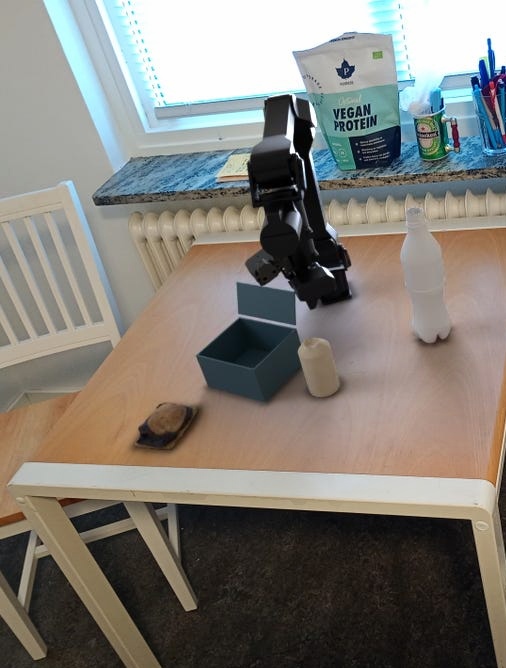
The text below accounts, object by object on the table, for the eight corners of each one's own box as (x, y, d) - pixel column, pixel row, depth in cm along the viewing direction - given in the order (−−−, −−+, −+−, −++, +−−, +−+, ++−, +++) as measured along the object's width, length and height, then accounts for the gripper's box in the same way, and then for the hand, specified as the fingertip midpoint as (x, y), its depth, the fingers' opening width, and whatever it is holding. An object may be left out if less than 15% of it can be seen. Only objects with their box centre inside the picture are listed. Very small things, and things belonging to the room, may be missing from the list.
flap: (238, 314, 137) (239, 313, 137) (294, 325, 130) (296, 324, 130) (236, 282, 135) (237, 281, 135) (293, 291, 128) (295, 291, 128)
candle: (346, 381, 127) (334, 334, 122) (328, 400, 124) (315, 353, 118) (320, 375, 130) (308, 329, 124) (303, 393, 127) (289, 347, 121)
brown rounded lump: (162, 406, 132) (155, 390, 129) (202, 409, 129) (195, 393, 126) (131, 447, 124) (122, 431, 122) (172, 451, 121) (165, 434, 119)
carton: (250, 347, 142) (239, 316, 137) (305, 360, 135) (296, 328, 130) (208, 387, 134) (195, 355, 129) (265, 402, 127) (253, 370, 122)
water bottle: (456, 324, 135) (440, 200, 120) (447, 347, 130) (430, 220, 115) (419, 323, 138) (399, 201, 123) (409, 345, 132) (387, 221, 118)
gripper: (229, 221, 121) (255, 300, 130) (255, 267, 106) (282, 352, 115) (292, 200, 123) (313, 279, 132) (326, 242, 108) (347, 328, 117)
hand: (312, 308), depth 124 cm, fingers closed
